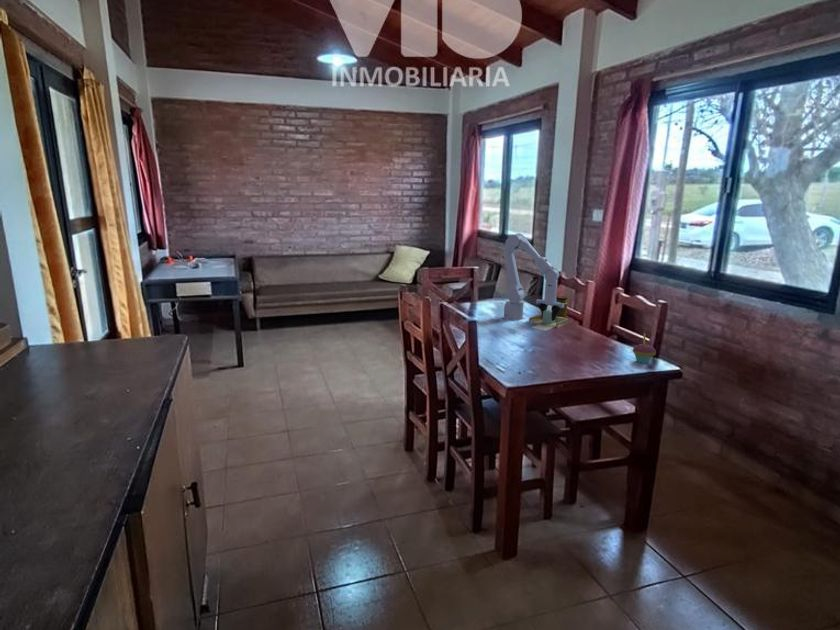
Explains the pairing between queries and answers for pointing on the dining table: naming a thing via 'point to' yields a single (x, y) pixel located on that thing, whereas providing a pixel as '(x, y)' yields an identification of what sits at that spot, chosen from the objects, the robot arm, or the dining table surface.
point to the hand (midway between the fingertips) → (548, 319)
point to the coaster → (542, 327)
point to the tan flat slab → (558, 323)
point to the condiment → (562, 311)
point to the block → (547, 317)
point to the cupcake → (644, 352)
